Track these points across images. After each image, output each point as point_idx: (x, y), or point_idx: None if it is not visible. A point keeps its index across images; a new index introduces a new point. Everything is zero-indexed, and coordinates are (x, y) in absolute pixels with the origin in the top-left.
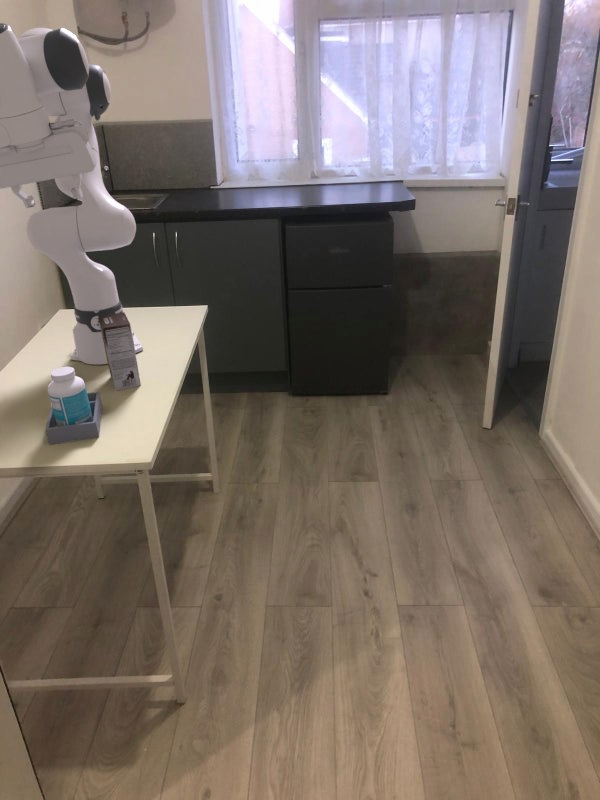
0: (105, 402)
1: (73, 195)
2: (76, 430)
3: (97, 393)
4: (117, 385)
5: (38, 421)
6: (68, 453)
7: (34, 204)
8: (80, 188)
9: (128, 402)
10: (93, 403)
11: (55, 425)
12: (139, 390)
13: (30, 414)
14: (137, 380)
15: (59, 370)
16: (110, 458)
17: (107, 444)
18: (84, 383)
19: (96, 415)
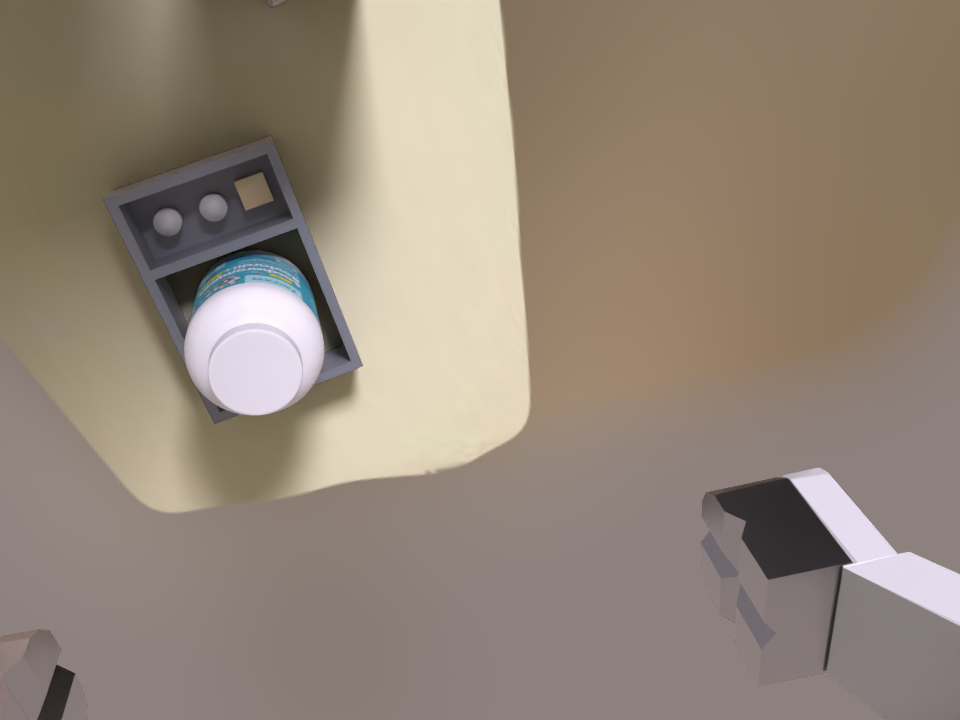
0: (273, 112)
1: (735, 619)
2: None
3: (273, 159)
4: (282, 1)
5: (83, 266)
6: (303, 438)
7: (54, 660)
8: (874, 537)
9: (363, 112)
10: (289, 229)
11: (177, 304)
12: (369, 6)
13: (13, 216)
14: None
15: (237, 365)
16: (433, 446)
17: (398, 383)
18: (318, 323)
19: (344, 322)
